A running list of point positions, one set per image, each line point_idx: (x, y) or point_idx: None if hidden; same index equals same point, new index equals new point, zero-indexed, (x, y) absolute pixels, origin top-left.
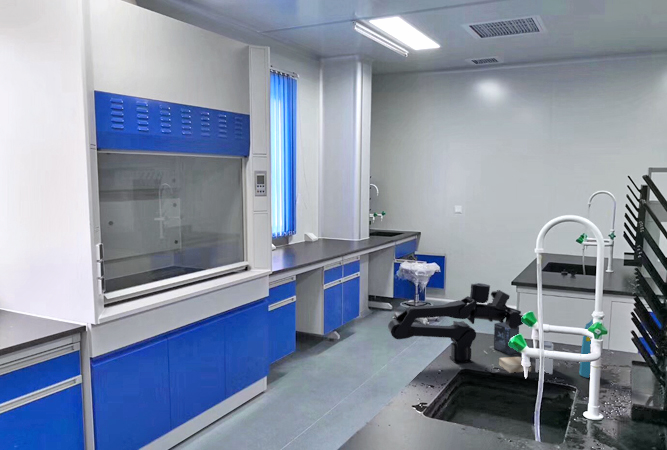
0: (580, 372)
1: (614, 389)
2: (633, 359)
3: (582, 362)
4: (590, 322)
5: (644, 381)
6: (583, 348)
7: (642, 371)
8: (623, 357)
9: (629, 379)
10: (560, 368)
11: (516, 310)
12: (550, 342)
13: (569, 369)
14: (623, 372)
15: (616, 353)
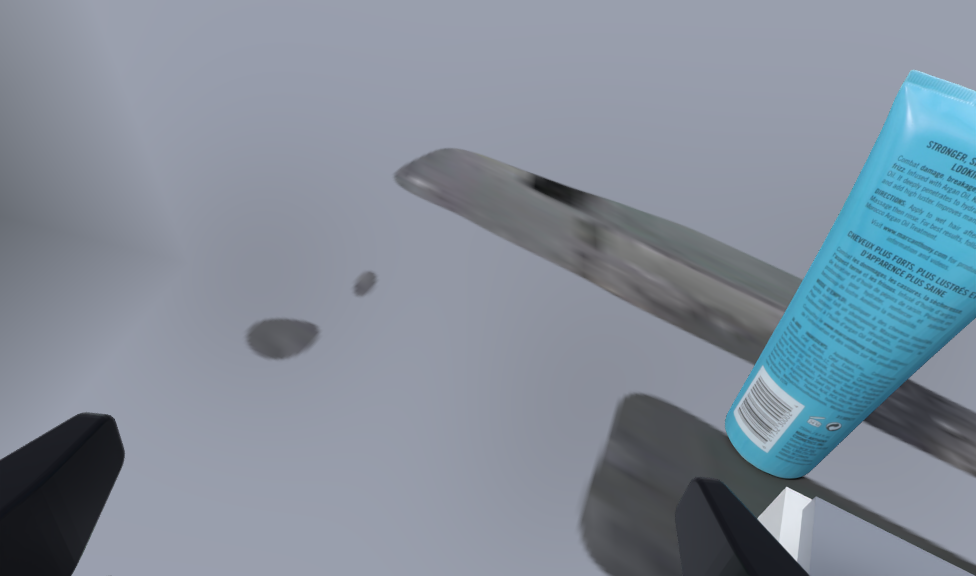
0: (797, 468)
1: (939, 427)
2: (516, 177)
3: (855, 423)
4: (966, 113)
5: (771, 272)
6: (933, 350)
7: (652, 222)
8: (489, 186)
9: (763, 302)
10: (661, 528)
11: (15, 519)
12: (835, 517)
13: (673, 479)
14: (676, 276)
15: (437, 179)
